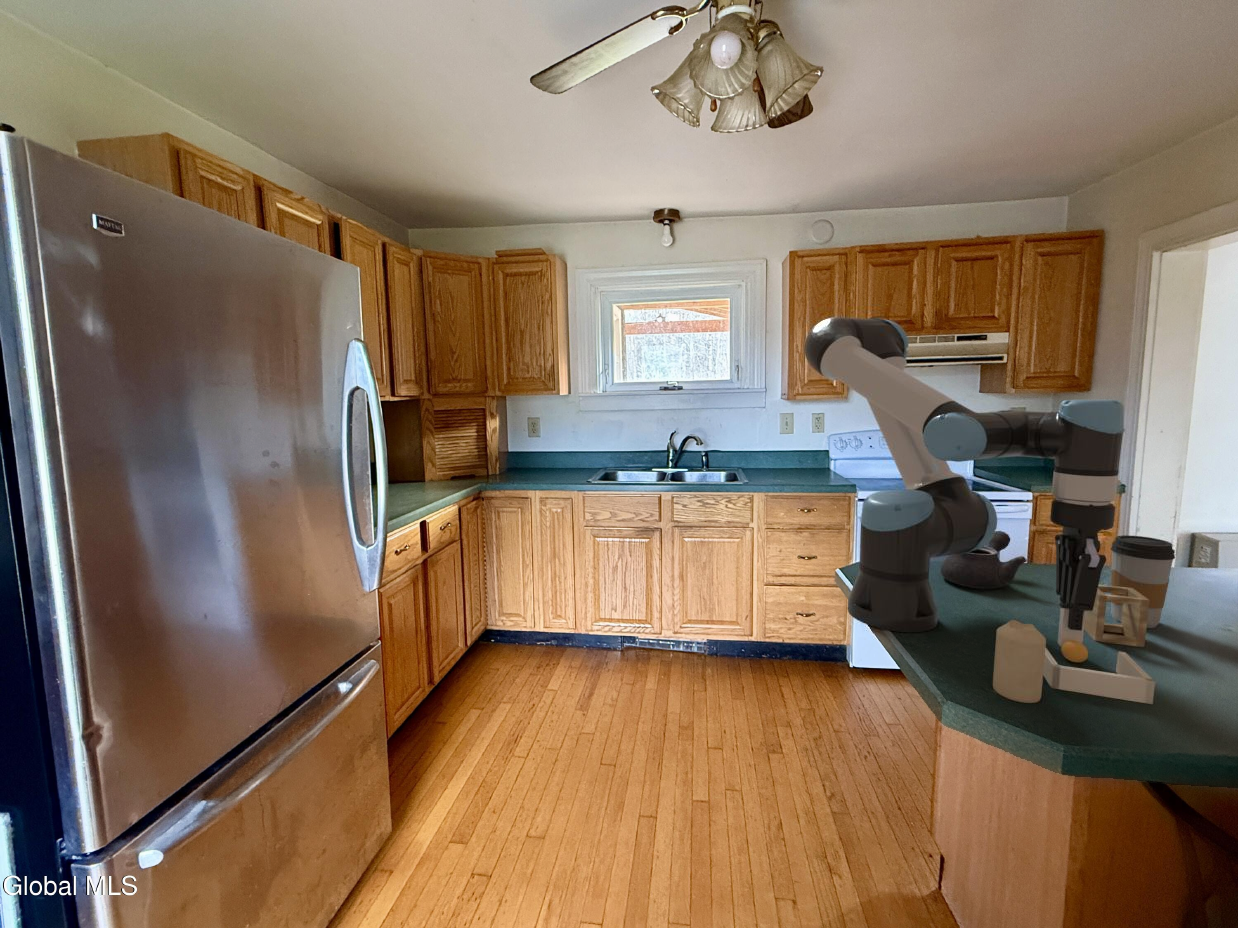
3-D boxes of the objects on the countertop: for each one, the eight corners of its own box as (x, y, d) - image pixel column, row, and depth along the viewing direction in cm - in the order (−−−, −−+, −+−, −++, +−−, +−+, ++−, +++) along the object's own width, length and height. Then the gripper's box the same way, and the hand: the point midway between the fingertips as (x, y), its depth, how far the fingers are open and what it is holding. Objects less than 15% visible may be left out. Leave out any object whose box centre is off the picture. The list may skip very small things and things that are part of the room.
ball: (1056, 653, 87) (1064, 664, 84) (1059, 635, 87) (1067, 645, 84) (1081, 657, 86) (1090, 668, 83) (1084, 638, 85) (1093, 648, 82)
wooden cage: (1094, 640, 92) (1099, 595, 91) (1081, 626, 97) (1085, 583, 96) (1144, 647, 89) (1149, 600, 88) (1127, 632, 95) (1132, 587, 94)
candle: (983, 683, 79) (987, 617, 78) (1018, 681, 79) (1024, 615, 78) (1013, 704, 74) (1019, 634, 72) (1051, 702, 74) (1057, 632, 73)
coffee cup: (1179, 632, 94) (1190, 548, 92) (1123, 629, 96) (1132, 546, 94) (1144, 613, 102) (1153, 535, 100) (1093, 610, 104) (1100, 533, 102)
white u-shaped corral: (1051, 687, 78) (1053, 666, 77) (1033, 659, 86) (1034, 639, 85) (1152, 704, 73) (1155, 681, 73) (1122, 672, 81) (1125, 652, 81)
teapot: (1016, 601, 109) (1020, 552, 108) (931, 582, 120) (934, 538, 119) (1037, 578, 122) (1041, 535, 120) (959, 563, 133) (961, 523, 132)
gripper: (1134, 510, 76) (1117, 669, 79) (1096, 494, 88) (1083, 632, 91) (1068, 507, 79) (1054, 660, 82) (1039, 491, 91) (1028, 626, 94)
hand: (1069, 645), depth 87 cm, fingers closed
